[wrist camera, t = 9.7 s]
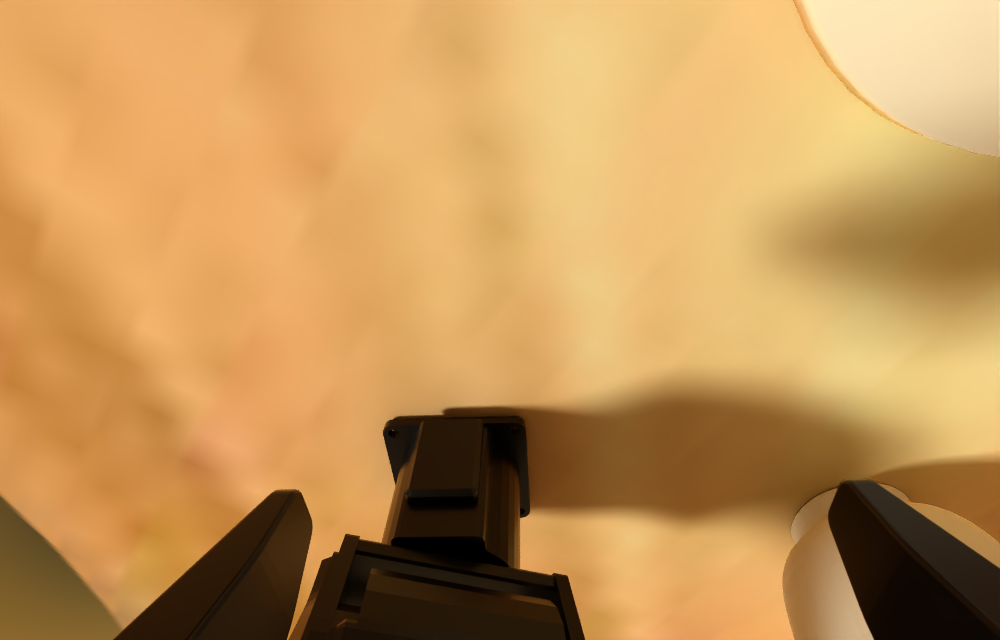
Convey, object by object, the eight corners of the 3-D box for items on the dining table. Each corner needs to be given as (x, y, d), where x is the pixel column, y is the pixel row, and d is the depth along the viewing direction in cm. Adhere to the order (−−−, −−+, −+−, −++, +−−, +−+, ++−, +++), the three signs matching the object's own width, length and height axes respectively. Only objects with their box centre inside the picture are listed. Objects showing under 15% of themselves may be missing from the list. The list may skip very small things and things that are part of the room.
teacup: (748, 627, 32) (829, 851, 24) (711, 468, 25) (809, 708, 17) (965, 593, 30) (1143, 830, 21) (994, 406, 23) (1279, 651, 14)
